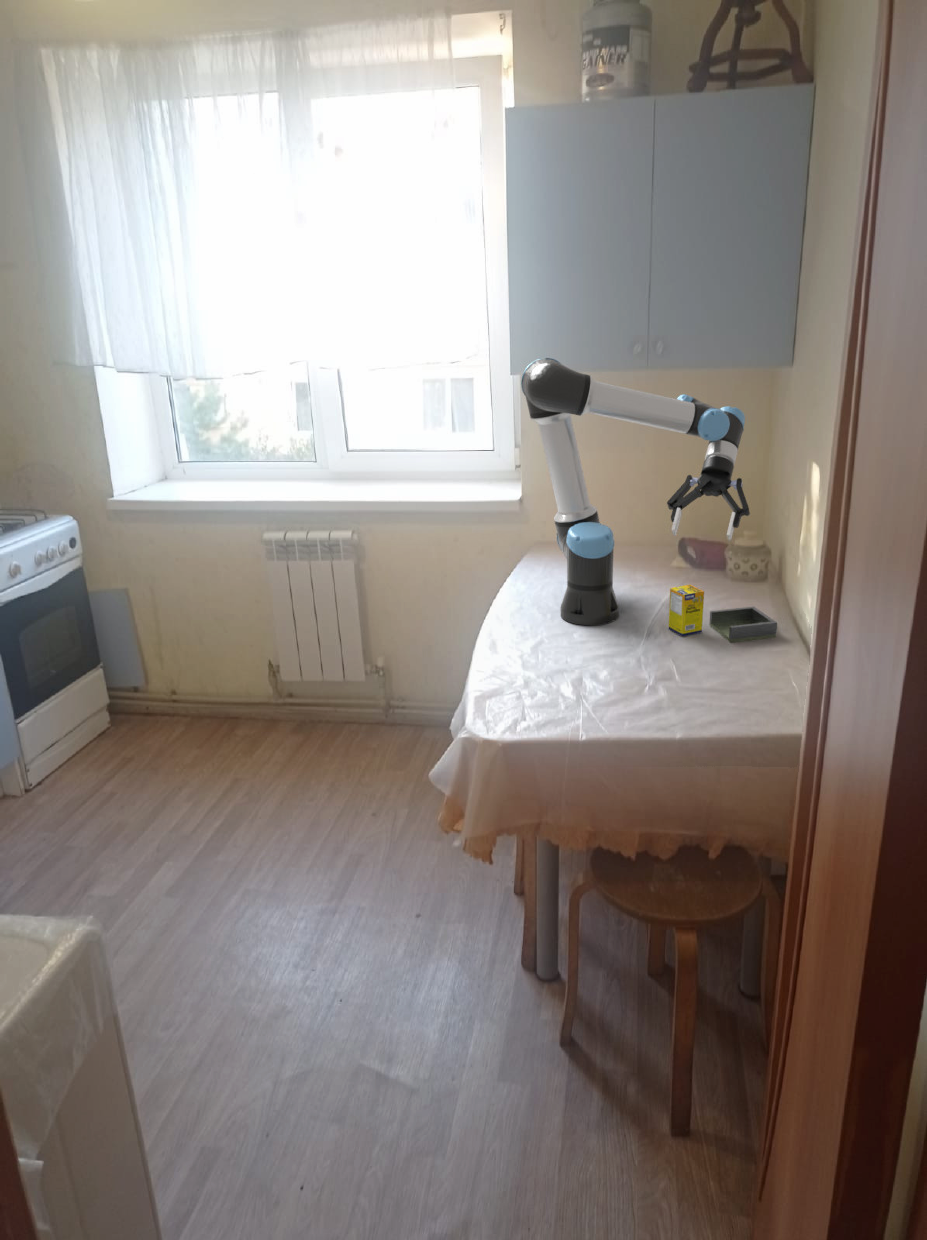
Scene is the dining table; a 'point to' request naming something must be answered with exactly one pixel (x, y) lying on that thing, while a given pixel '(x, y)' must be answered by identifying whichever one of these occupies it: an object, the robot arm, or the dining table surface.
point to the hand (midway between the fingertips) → (700, 535)
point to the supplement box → (686, 610)
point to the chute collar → (743, 624)
